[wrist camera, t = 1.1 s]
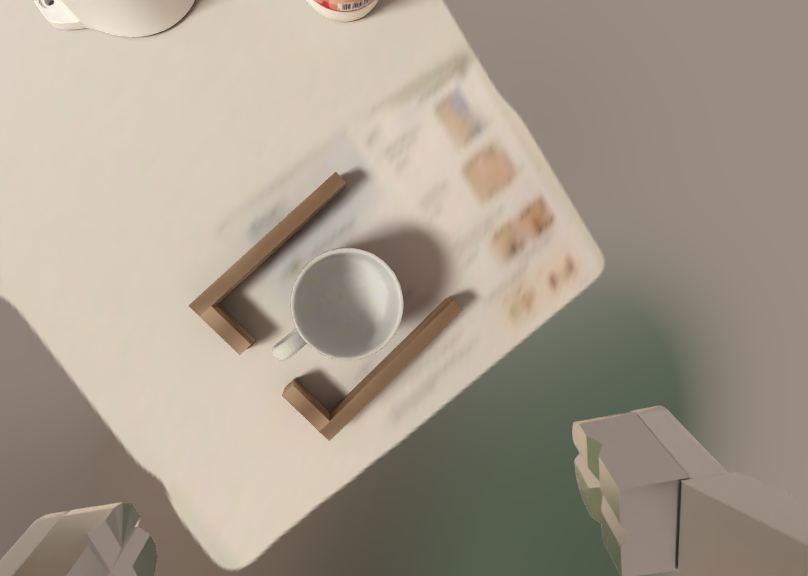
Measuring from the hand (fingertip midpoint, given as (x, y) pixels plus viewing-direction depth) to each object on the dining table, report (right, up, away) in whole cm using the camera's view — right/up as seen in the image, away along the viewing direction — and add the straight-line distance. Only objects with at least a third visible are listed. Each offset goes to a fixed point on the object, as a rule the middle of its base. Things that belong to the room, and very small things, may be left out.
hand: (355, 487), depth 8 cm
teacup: (-7, +2, +42) cm, 43 cm away
